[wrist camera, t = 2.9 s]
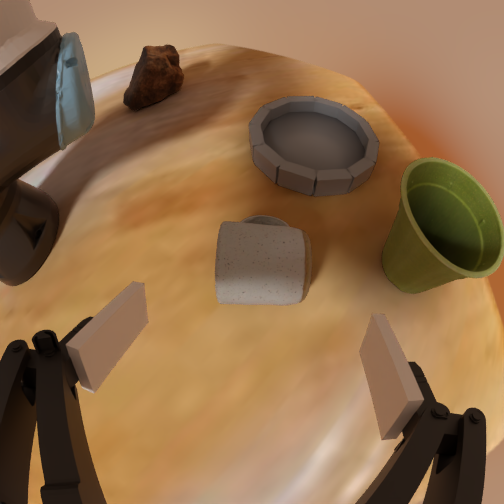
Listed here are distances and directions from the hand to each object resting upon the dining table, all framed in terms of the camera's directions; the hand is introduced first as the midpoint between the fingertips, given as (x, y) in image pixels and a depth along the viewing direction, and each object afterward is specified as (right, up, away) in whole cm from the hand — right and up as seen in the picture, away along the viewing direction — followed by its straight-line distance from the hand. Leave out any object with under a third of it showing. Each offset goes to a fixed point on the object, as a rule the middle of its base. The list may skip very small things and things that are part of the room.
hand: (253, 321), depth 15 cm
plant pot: (+17, +2, +13) cm, 22 cm away
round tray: (+8, +18, +21) cm, 29 cm away
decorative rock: (-17, +32, +28) cm, 46 cm away
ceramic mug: (+1, +2, +14) cm, 14 cm away
